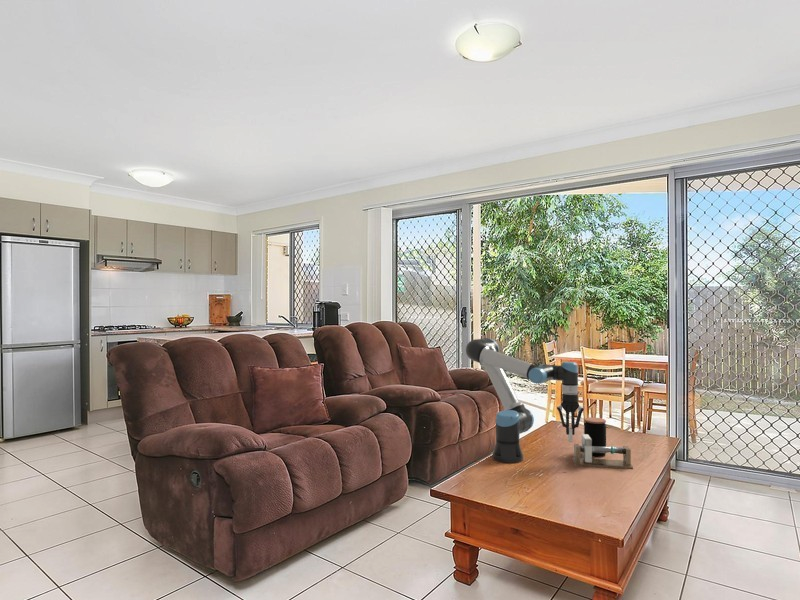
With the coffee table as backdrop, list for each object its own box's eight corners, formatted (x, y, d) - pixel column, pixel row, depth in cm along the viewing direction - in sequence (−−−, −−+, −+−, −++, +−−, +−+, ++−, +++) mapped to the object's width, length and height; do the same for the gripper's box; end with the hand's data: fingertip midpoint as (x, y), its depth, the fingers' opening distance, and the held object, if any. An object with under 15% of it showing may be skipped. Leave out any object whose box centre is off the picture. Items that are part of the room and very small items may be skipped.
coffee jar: (602, 451, 270) (602, 417, 270) (608, 457, 259) (608, 422, 259) (582, 451, 271) (581, 417, 271) (587, 456, 260) (587, 421, 260)
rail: (575, 465, 246) (575, 447, 246) (572, 459, 256) (572, 442, 256) (633, 468, 241) (632, 450, 241) (627, 462, 251) (627, 444, 251)
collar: (585, 462, 245) (585, 439, 245) (581, 456, 255) (581, 434, 255) (591, 462, 244) (591, 439, 244) (588, 456, 254) (588, 434, 254)
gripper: (557, 394, 249) (557, 442, 249) (585, 395, 246) (585, 443, 246) (555, 391, 256) (555, 438, 256) (582, 392, 254) (582, 439, 254)
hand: (570, 441), depth 251 cm, fingers closed
